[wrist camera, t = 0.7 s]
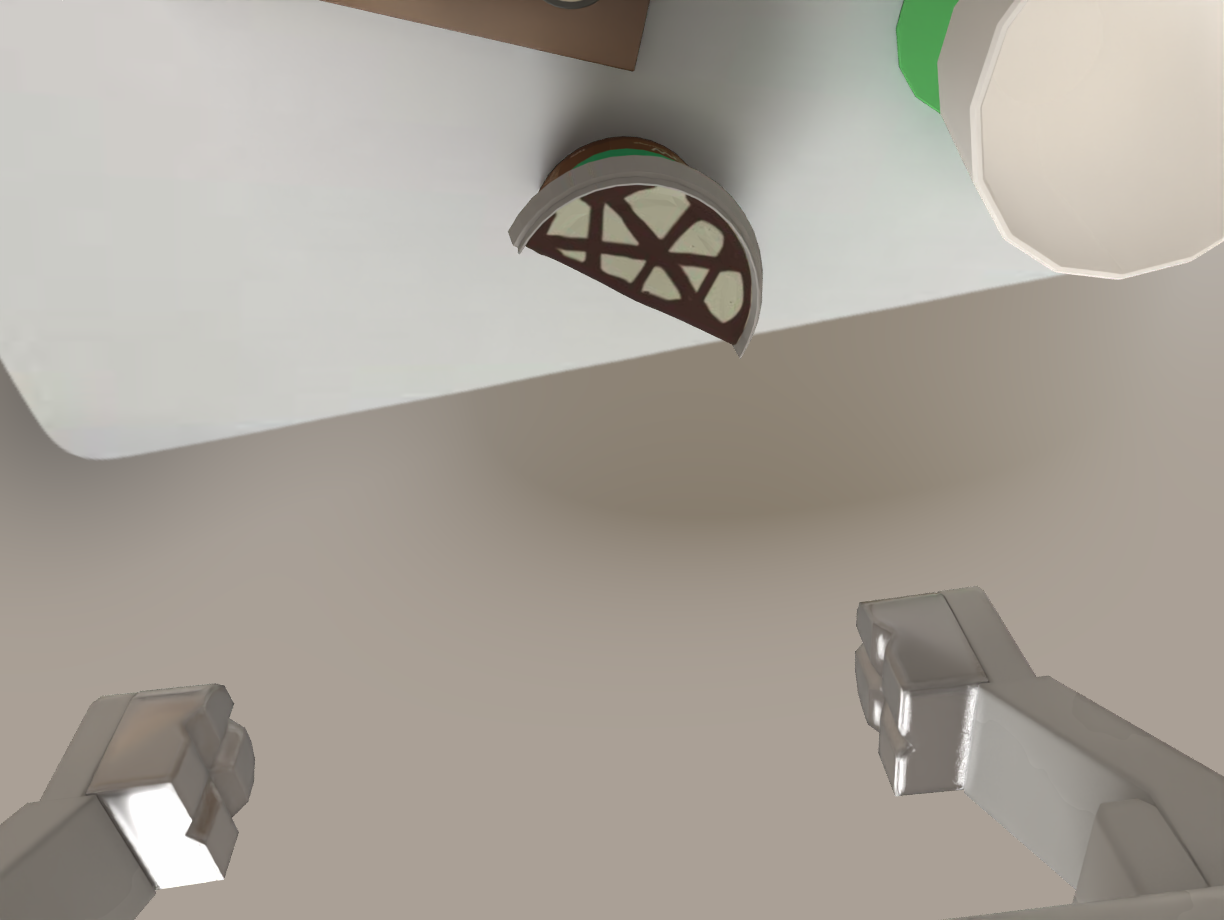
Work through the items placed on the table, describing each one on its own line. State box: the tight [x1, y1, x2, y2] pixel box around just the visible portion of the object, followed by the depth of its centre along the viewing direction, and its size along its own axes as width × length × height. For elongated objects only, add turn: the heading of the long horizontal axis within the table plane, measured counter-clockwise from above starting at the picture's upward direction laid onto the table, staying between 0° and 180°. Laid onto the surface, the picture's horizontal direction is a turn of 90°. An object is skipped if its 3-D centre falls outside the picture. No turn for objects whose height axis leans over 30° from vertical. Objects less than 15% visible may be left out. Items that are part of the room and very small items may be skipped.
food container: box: [508, 136, 763, 358], centre depth 45 cm, size 12×6×10 cm, turn 62°
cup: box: [896, 0, 1224, 280], centre depth 40 cm, size 14×14×16 cm
